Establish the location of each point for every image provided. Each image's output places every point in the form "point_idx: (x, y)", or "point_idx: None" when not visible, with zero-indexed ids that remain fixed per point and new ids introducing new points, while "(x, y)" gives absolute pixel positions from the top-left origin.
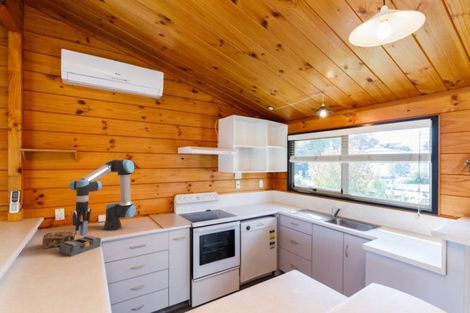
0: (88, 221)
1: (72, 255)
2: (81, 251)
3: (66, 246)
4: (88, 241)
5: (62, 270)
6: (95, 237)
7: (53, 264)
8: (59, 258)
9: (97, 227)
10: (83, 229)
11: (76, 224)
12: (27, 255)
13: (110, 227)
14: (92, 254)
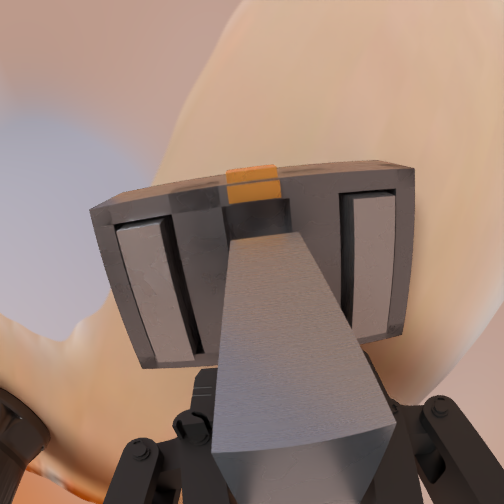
0: (143, 463)
1: (370, 161)
2: (299, 167)
3: (411, 243)
4: (230, 190)
5: (470, 24)
6: (127, 238)
7: (474, 137)
8: (425, 200)
9: (71, 462)
10: (323, 278)
11: (434, 418)
12: (438, 372)
13: (16, 413)
14: (260, 59)
